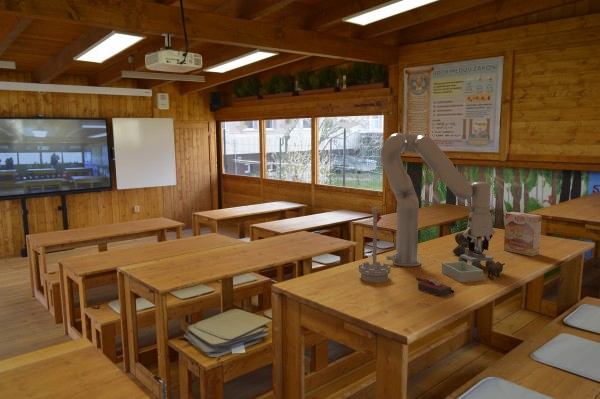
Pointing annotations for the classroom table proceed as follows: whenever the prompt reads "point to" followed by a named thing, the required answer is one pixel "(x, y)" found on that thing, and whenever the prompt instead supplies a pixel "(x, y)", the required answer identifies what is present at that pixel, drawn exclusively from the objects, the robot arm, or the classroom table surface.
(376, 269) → the flag stand
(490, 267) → the rhino figurine
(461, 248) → the decorative stone
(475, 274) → the tray
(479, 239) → the pin
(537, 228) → the coffeecake box
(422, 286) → the walkie-talkie
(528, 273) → the classroom table surface
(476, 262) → the trolley
